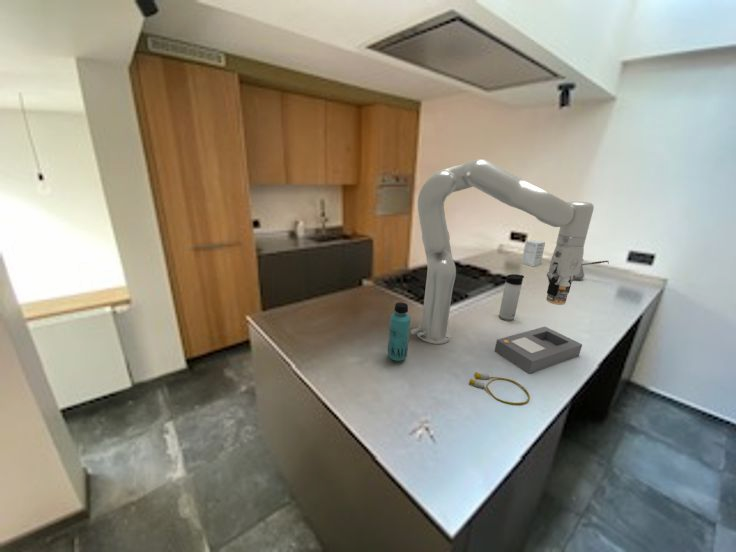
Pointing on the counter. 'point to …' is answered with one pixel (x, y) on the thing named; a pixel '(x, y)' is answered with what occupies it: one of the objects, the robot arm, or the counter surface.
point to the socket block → (537, 349)
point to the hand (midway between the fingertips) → (557, 292)
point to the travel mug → (510, 297)
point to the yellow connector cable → (486, 376)
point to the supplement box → (533, 253)
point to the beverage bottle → (399, 332)
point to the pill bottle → (560, 292)
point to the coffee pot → (581, 273)
